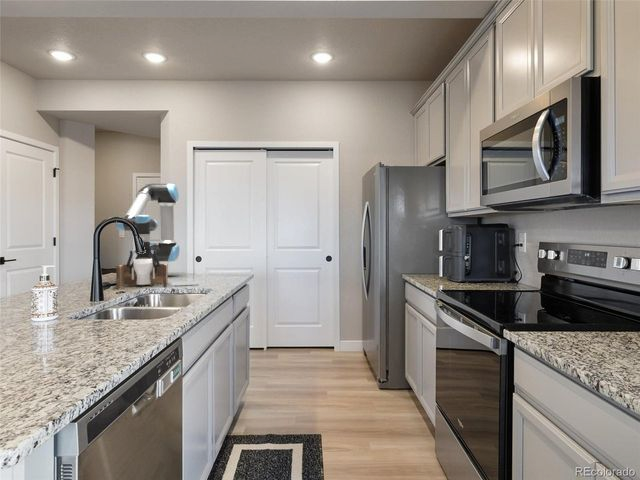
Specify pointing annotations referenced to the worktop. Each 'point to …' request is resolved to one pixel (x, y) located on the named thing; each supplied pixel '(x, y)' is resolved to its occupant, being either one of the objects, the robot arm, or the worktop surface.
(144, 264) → the cup
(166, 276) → the crate
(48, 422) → the worktop surface
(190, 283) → the mat
